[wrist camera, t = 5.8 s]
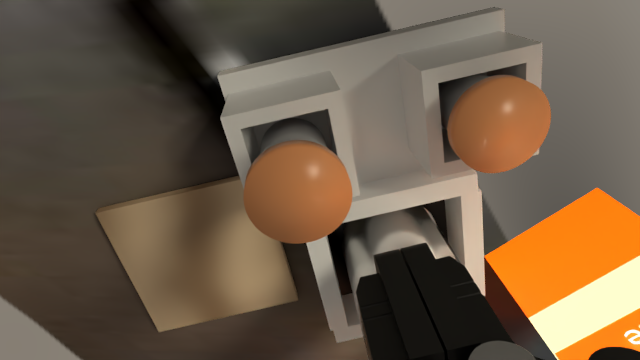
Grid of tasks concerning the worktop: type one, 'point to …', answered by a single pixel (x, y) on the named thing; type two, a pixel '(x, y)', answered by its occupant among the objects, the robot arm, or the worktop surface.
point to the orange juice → (578, 276)
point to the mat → (197, 254)
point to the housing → (382, 126)
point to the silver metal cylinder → (388, 243)
